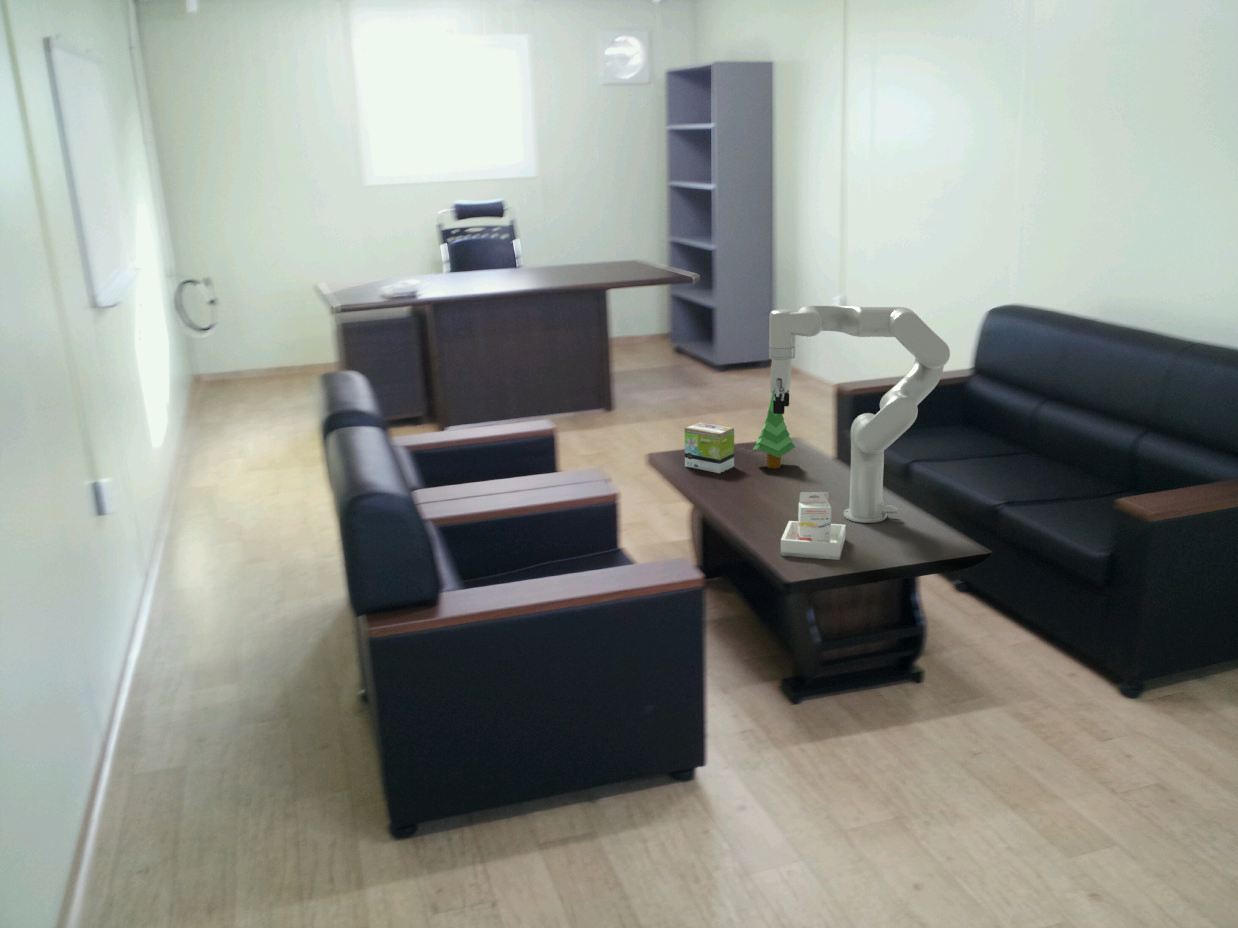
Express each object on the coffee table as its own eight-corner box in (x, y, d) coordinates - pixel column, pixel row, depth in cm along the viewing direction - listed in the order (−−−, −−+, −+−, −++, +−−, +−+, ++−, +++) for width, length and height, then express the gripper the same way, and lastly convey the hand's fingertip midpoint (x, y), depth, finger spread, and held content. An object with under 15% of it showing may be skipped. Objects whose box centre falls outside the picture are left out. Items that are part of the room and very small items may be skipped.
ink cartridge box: (799, 547, 287) (800, 497, 283) (797, 541, 292) (798, 491, 288) (830, 547, 287) (832, 496, 283) (828, 540, 292) (829, 491, 287)
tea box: (683, 467, 369) (683, 427, 364) (699, 460, 376) (699, 421, 372) (720, 474, 360) (719, 432, 356) (735, 467, 367) (735, 426, 363)
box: (845, 539, 295) (845, 524, 294) (839, 559, 280) (840, 544, 279) (788, 535, 300) (789, 520, 298) (780, 555, 285) (780, 539, 284)
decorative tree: (787, 459, 374) (788, 377, 366) (797, 471, 359) (799, 387, 351) (750, 461, 373) (750, 379, 365) (759, 473, 358) (759, 389, 350)
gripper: (773, 347, 310) (773, 402, 315) (764, 357, 295) (763, 416, 299) (798, 347, 308) (797, 403, 313) (790, 358, 292) (789, 417, 297)
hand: (781, 409), depth 306 cm, fingers open, 9 cm apart
